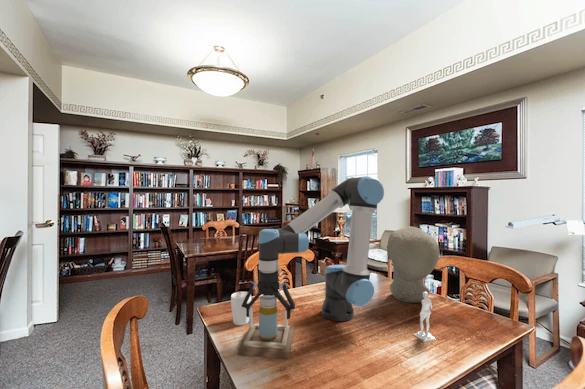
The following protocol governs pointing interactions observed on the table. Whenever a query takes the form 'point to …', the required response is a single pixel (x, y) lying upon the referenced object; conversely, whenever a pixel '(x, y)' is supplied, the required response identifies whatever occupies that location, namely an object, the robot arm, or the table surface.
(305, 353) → the table surface
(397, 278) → the bust
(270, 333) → the bottle
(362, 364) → the table surface
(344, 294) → the robot arm
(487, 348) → the table surface
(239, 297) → the cup
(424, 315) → the figurine
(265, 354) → the plinth
